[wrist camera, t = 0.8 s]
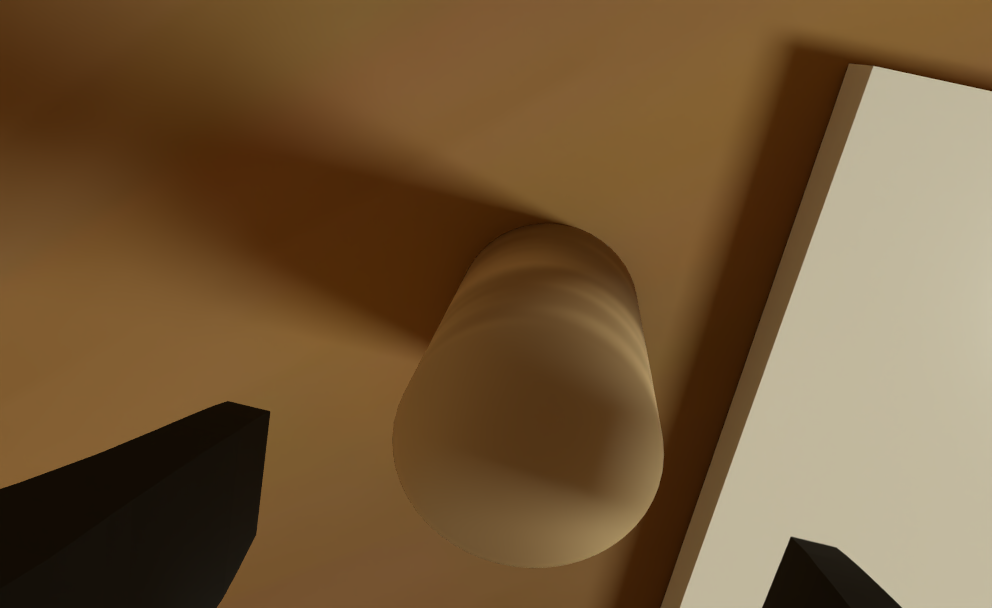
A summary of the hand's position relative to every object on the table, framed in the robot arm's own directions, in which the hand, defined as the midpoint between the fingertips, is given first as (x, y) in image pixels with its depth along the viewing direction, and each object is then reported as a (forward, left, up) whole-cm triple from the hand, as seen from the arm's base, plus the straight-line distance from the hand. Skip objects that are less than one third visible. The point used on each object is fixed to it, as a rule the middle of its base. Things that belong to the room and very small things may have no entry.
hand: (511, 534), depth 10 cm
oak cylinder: (0, 0, -9) cm, 9 cm away
